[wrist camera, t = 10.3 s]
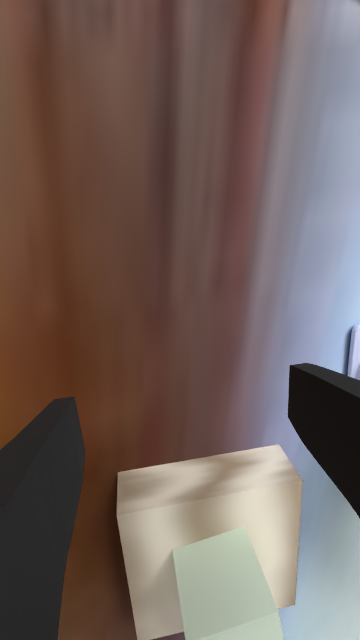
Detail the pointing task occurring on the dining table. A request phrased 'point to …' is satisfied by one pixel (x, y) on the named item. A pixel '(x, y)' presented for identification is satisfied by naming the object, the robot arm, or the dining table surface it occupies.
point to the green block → (225, 590)
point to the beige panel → (206, 525)
